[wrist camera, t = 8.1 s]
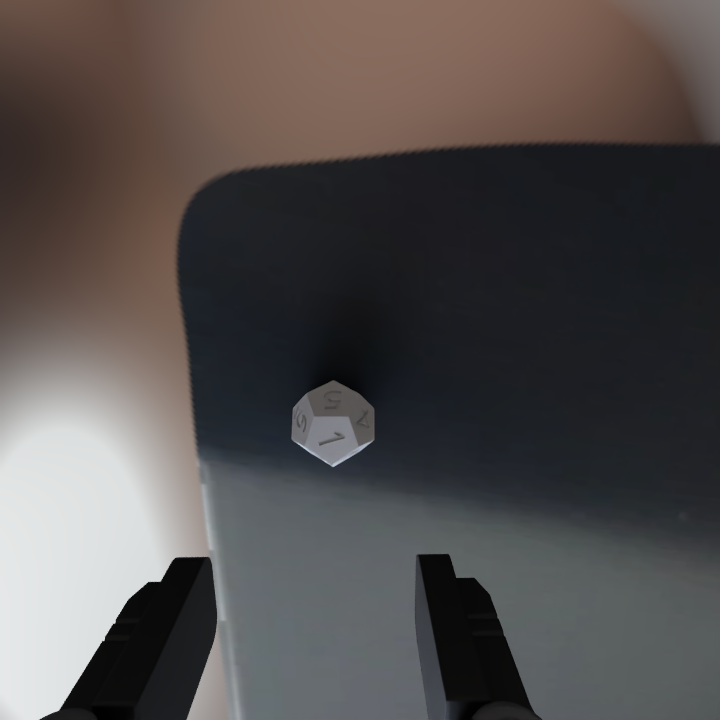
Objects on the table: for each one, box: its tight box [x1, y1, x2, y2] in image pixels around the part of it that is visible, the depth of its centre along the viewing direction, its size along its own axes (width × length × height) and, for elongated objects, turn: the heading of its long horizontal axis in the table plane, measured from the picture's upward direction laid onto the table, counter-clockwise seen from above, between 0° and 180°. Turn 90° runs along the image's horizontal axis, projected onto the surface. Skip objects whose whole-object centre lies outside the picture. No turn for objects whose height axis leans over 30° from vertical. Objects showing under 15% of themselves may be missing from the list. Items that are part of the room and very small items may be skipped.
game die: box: [292, 380, 374, 467], centre depth 20 cm, size 4×4×3 cm
